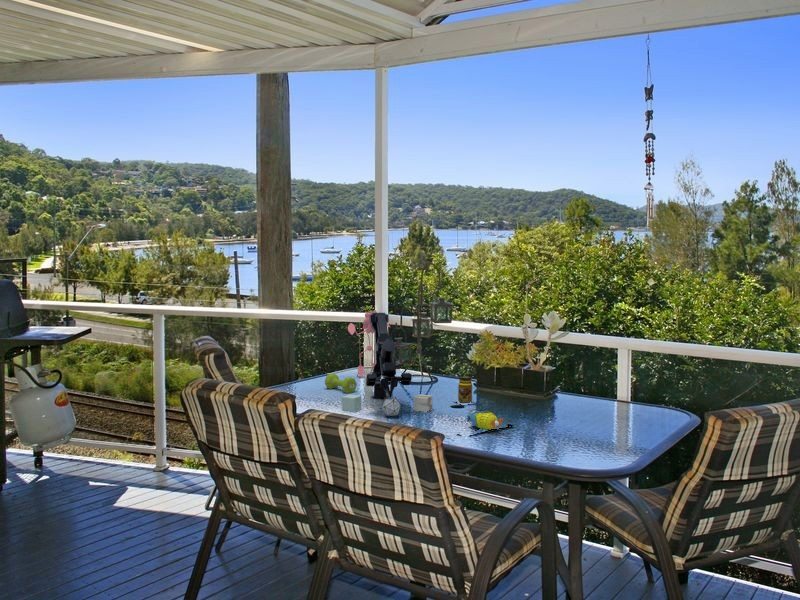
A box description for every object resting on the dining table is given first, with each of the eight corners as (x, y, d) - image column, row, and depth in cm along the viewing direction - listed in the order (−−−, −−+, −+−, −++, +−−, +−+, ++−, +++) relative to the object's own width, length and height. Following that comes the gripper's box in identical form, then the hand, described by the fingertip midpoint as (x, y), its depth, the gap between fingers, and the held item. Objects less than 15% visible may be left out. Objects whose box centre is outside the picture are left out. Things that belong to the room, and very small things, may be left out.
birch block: (419, 408, 325) (419, 394, 325) (432, 409, 323) (432, 395, 322) (413, 411, 320) (413, 397, 319) (426, 412, 317) (426, 398, 317)
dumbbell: (358, 392, 356) (358, 377, 355) (345, 394, 350) (345, 379, 350) (335, 386, 367) (335, 372, 367) (323, 389, 362) (323, 374, 361)
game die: (394, 426, 309) (399, 410, 302) (375, 418, 310) (380, 402, 304) (402, 411, 316) (407, 396, 309) (383, 403, 317) (388, 387, 310)
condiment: (461, 406, 329) (462, 379, 328) (452, 401, 337) (453, 375, 335) (476, 404, 332) (476, 377, 330) (467, 400, 339) (467, 374, 338)
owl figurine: (469, 418, 276) (444, 411, 288) (469, 441, 276) (444, 433, 289) (525, 408, 291) (498, 401, 304) (525, 430, 292) (498, 422, 305)
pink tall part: (343, 378, 387) (344, 310, 384) (380, 371, 405) (381, 307, 401) (363, 383, 377) (364, 313, 373) (400, 376, 394) (401, 310, 391)
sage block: (349, 407, 325) (349, 394, 324) (361, 409, 322) (361, 395, 321) (341, 410, 319) (341, 397, 319) (354, 412, 317) (354, 398, 316)
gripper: (366, 354, 312) (369, 386, 302) (411, 353, 314) (415, 385, 304) (364, 369, 320) (367, 401, 310) (408, 368, 323) (412, 400, 313)
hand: (390, 396), depth 309 cm, fingers closed
